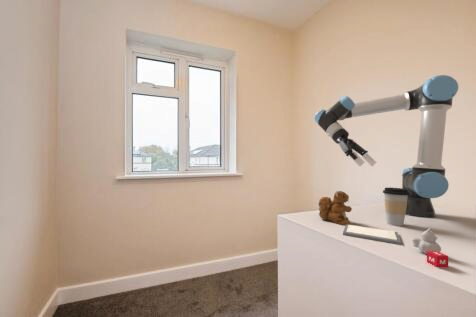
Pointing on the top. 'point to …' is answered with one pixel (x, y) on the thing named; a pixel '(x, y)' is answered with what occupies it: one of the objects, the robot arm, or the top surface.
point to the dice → (437, 259)
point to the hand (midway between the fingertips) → (368, 164)
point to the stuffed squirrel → (335, 208)
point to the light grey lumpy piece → (427, 242)
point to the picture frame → (372, 234)
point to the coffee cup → (395, 205)
